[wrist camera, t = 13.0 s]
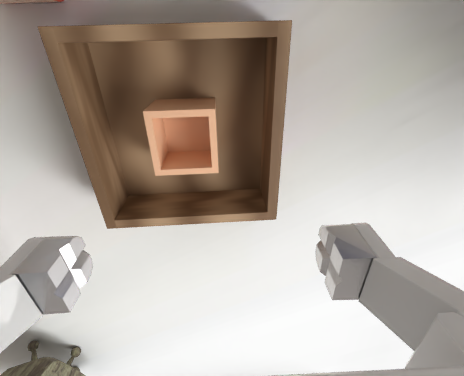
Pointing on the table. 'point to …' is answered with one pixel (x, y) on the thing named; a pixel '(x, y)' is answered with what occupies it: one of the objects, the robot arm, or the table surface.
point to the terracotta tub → (182, 136)
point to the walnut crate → (175, 87)
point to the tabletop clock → (45, 365)
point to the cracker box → (28, 1)
